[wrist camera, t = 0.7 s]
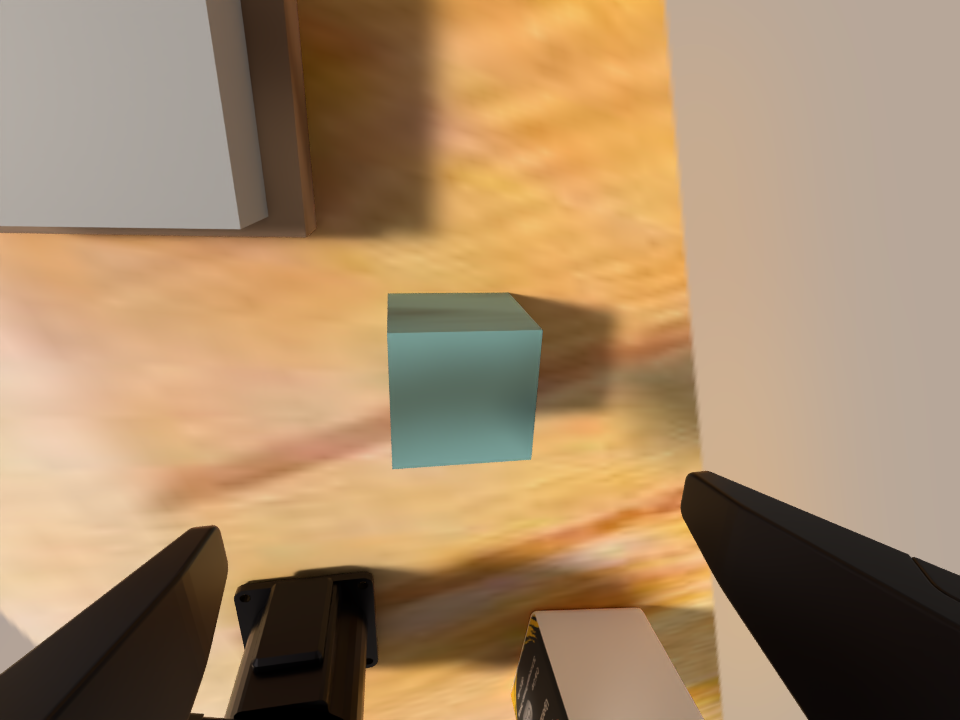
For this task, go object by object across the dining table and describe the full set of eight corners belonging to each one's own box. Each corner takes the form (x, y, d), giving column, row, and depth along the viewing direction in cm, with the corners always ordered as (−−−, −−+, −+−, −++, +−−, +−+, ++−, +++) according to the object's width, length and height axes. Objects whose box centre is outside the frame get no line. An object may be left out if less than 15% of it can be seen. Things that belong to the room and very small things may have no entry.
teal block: (502, 398, 22) (531, 459, 18) (391, 403, 21) (392, 469, 17) (508, 292, 20) (542, 329, 16) (388, 293, 19) (387, 333, 15)
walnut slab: (318, 226, 18) (306, 237, 16) (19, 220, 17) (-54, 232, 14) (289, -111, 15) (267, -174, 12) (-101, -163, 13) (-232, -250, 10)
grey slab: (268, 216, 15) (240, 229, 12) (-24, 211, 14) (-126, 224, 11) (225, -113, 12) (176, -190, 9) (-154, -158, 11) (-340, -265, 8)
